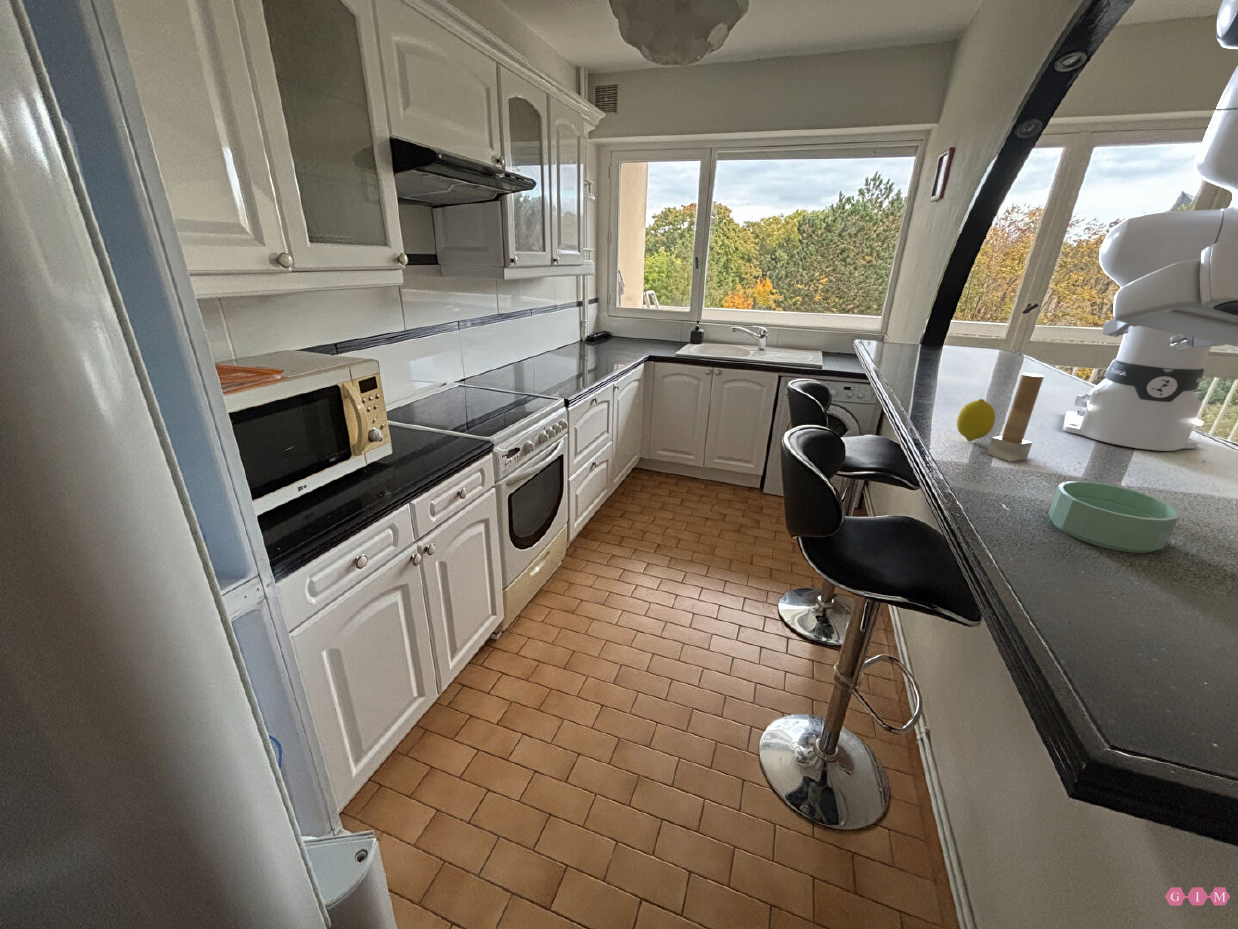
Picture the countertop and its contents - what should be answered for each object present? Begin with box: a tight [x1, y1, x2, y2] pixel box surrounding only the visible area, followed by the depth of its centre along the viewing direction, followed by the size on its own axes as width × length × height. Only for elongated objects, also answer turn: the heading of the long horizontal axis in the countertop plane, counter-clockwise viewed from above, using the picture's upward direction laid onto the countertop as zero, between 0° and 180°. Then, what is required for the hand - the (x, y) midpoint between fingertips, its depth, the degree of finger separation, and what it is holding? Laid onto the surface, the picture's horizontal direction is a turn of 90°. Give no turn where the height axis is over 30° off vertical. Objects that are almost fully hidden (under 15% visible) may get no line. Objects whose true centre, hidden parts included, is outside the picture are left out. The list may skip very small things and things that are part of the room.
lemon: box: [956, 398, 996, 442], centre depth 92 cm, size 6×6×8 cm
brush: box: [986, 372, 1045, 463], centre depth 83 cm, size 4×4×14 cm
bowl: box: [1047, 480, 1181, 554], centre depth 61 cm, size 11×11×4 cm
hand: (1141, 337), depth 64 cm, fingers open, 8 cm apart
